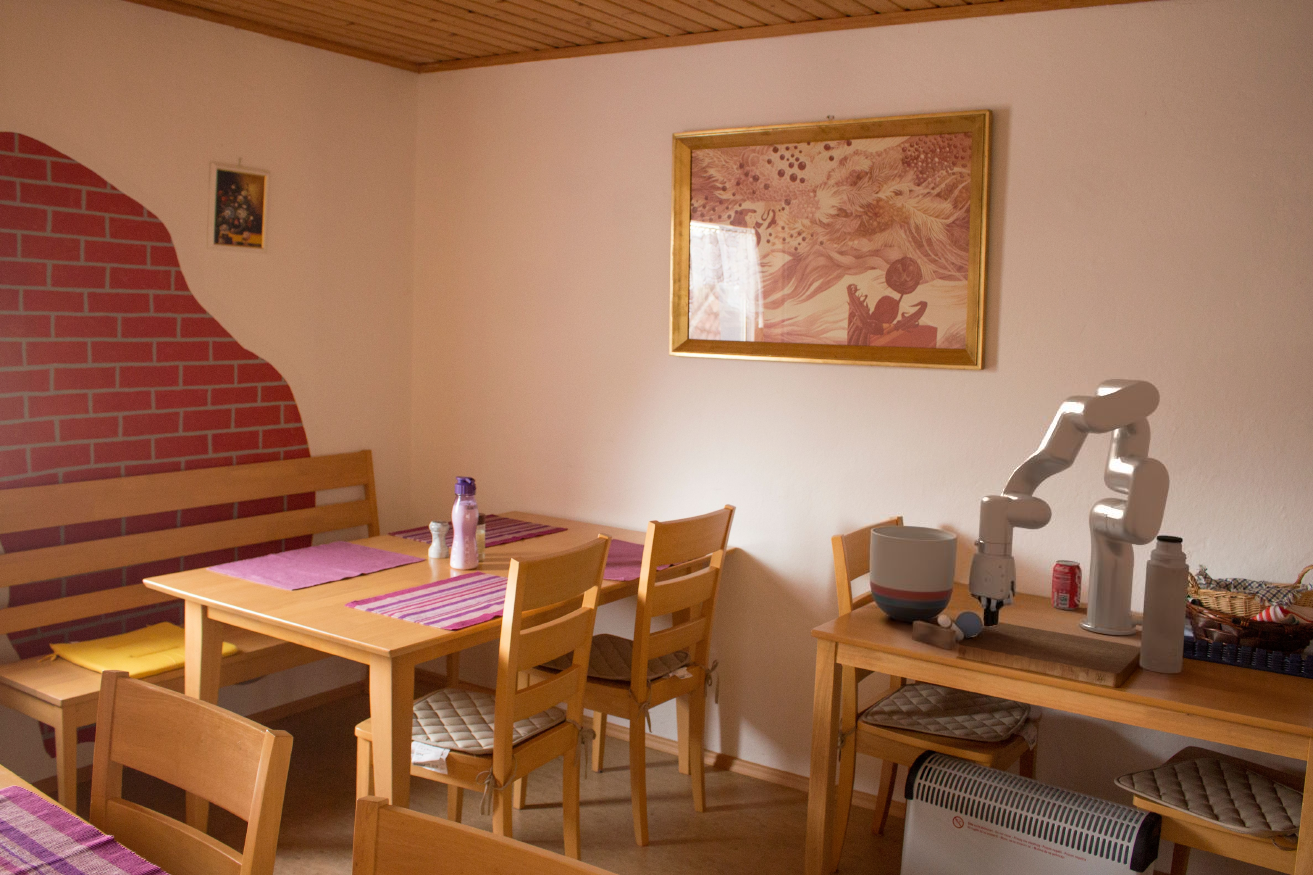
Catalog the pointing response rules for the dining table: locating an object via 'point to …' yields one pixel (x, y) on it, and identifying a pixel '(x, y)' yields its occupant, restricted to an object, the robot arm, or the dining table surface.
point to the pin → (950, 626)
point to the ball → (969, 623)
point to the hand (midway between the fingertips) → (990, 625)
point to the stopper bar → (934, 635)
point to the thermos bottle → (1164, 607)
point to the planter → (912, 571)
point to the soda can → (1066, 585)
